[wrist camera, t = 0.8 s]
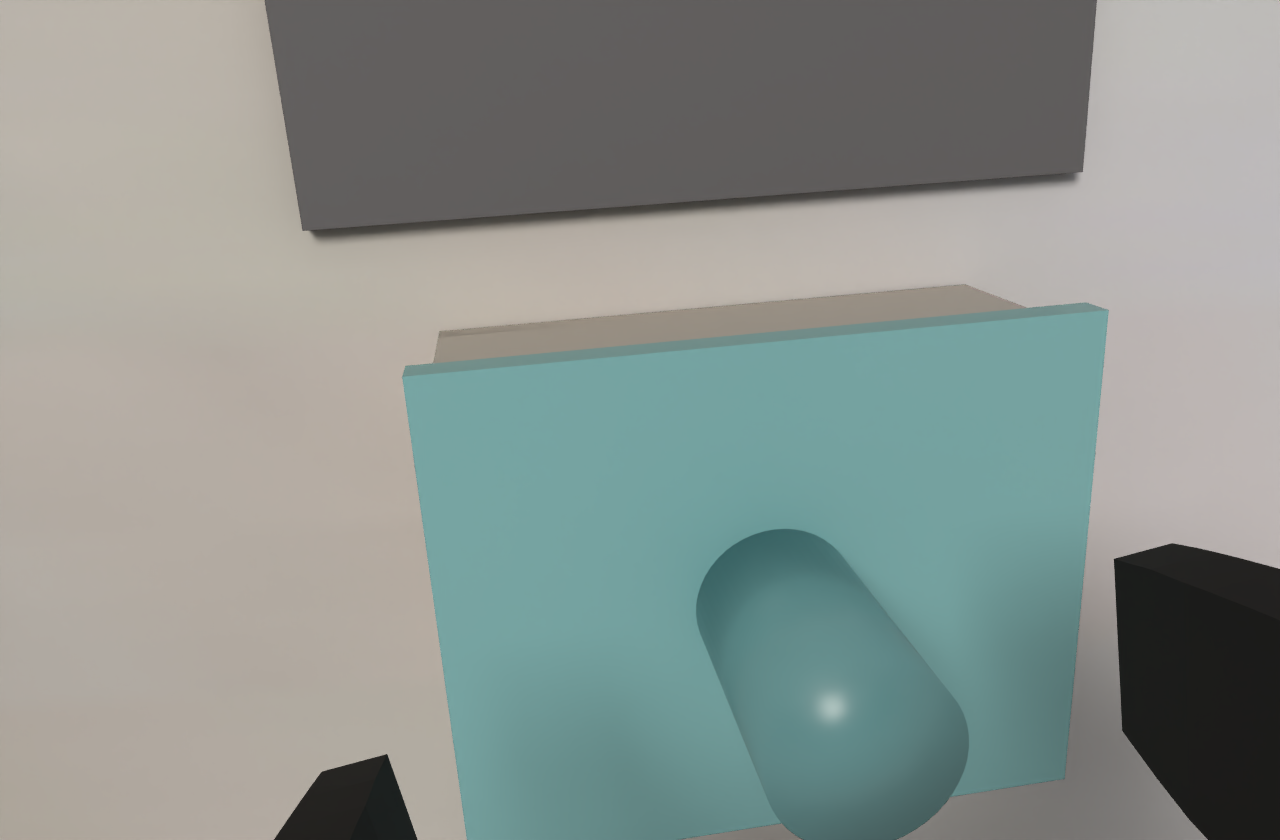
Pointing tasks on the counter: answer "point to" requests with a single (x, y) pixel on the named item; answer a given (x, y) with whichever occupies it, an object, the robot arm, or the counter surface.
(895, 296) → the tub
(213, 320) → the counter surface
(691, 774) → the lid
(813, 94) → the mat
